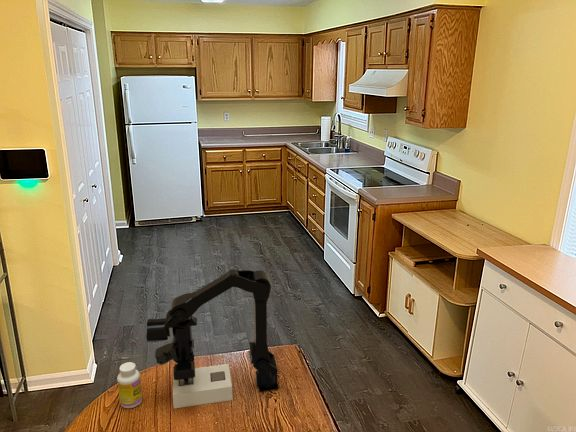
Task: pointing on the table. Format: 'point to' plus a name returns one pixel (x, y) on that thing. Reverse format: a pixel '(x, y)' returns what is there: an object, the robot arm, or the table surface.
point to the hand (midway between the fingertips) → (186, 380)
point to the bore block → (203, 388)
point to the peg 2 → (217, 376)
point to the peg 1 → (186, 382)
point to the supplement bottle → (129, 385)
